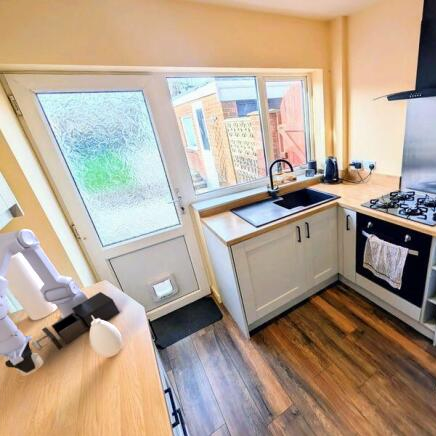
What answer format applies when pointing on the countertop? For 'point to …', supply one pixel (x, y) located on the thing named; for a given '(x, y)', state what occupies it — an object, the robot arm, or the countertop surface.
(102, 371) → the countertop surface
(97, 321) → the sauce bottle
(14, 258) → the cylinder container
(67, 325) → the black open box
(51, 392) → the countertop surface
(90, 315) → the black drawer box
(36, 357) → the grey short cylinder
